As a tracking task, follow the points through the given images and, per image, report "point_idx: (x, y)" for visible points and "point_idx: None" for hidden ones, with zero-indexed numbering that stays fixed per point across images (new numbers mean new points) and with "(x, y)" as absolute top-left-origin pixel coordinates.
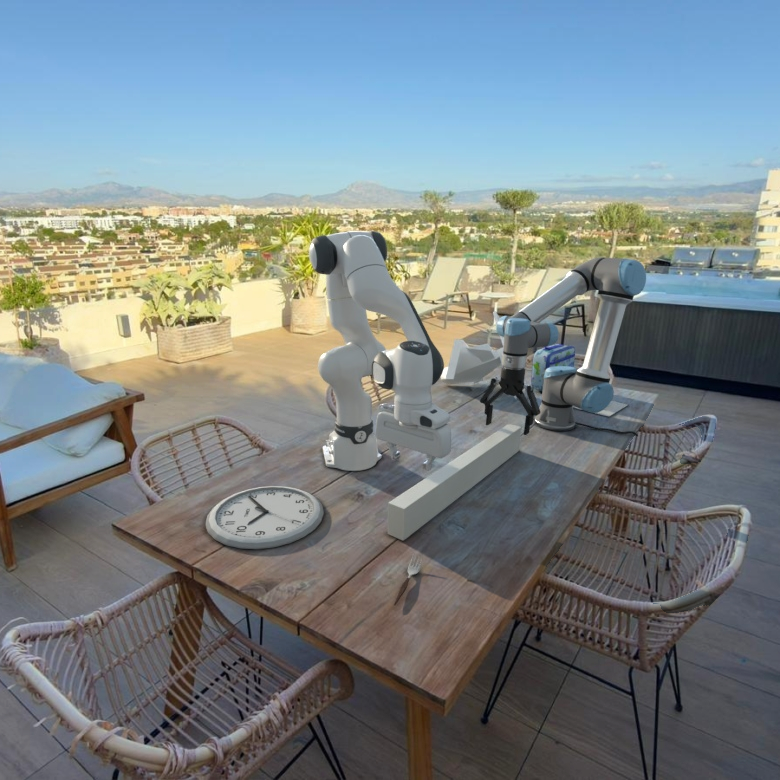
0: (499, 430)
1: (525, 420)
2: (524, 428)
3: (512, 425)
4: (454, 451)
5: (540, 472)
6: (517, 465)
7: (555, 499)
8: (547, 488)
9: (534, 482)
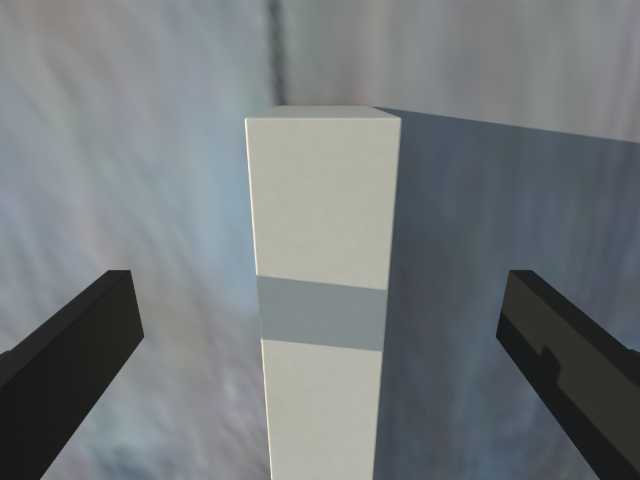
0: (269, 330)
1: (588, 459)
2: (527, 378)
3: (304, 141)
4: None
5: None
6: (427, 293)
7: None
8: None
9: None
